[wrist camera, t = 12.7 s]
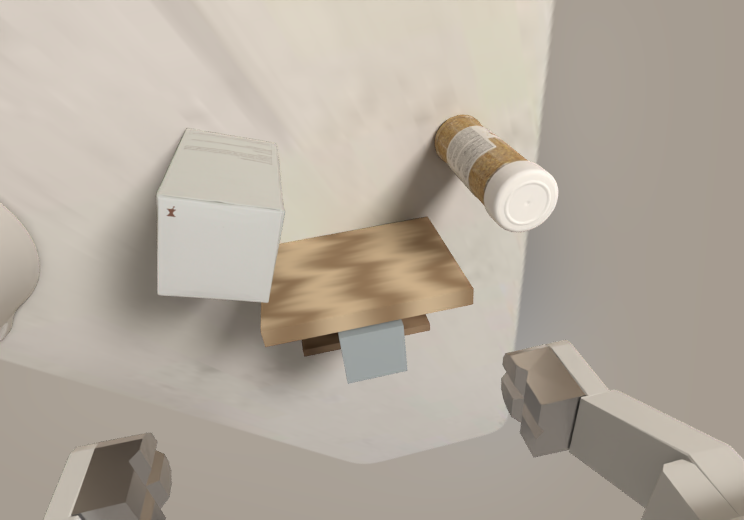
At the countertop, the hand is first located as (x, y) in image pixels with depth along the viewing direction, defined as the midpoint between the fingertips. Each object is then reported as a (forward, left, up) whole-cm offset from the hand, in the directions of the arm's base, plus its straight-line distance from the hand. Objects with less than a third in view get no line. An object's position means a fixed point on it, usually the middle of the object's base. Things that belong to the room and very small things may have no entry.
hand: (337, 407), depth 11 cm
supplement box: (-6, -6, -31) cm, 32 cm away
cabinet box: (+3, -18, -26) cm, 32 cm away
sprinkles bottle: (+14, -6, -31) cm, 35 cm away
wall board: (+3, -17, -31) cm, 36 cm away
